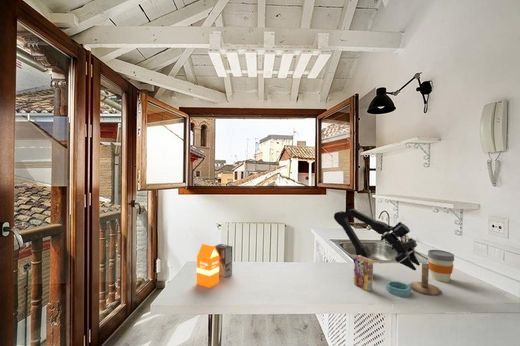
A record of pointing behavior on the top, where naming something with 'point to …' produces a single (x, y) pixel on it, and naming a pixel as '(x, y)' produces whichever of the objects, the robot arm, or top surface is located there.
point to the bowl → (398, 288)
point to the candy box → (363, 272)
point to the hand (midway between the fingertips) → (417, 267)
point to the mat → (426, 294)
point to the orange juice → (207, 266)
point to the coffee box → (224, 259)
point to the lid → (425, 283)
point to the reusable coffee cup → (440, 265)
